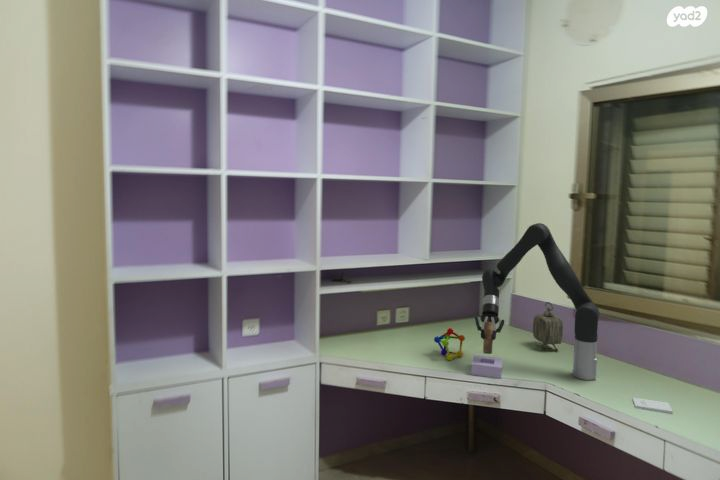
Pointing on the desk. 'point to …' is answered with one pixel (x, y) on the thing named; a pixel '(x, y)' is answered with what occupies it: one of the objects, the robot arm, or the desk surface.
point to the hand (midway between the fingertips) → (488, 338)
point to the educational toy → (445, 343)
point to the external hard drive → (652, 405)
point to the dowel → (488, 337)
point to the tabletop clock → (548, 328)
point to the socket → (487, 366)
